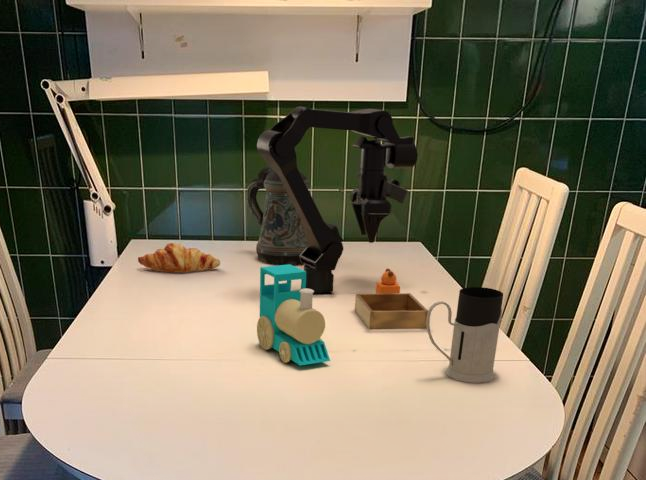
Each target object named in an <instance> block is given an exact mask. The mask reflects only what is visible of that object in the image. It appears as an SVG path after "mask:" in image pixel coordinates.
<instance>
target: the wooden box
mask: <svg viewBox="0 0 646 480" xmlns="http://www.w3.org/2000/svg"><path fill="white" fill-rule="evenodd" d="M354 298H355V300H354V301H355V302H354V311H355V312H356V314H357V315H358V316H359V318H360V319H361V320H362V322H363V323H364V325H365V326H366V327H367V329H368V330H416V329H417V330H418V329H419V330H421V329H423V330H425V329H426V330H427V314H428V310H429V309H427V308H426V307H425V306H424V305H423V304H422V303H421V302H420V301H419V300H418V299H417V298H416V297H415V296H414V295H413V294H411V293H410V292H402V293H401V292H400V293H378V294H376V293H355V297H354Z"/></svg>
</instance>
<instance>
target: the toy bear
mask: <svg viewBox="0 0 646 480" xmlns="http://www.w3.org/2000/svg"><path fill="white" fill-rule="evenodd" d="M380 279H381V280H380V281H376V283H375V284H376V285H375V294H378V293H401V285H399V283H398V282H397V276H396V273H394V271H392V270H391V269H390V268H385V271H384V272H383V273H382V275H381V278H380Z"/></svg>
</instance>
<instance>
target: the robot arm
mask: <svg viewBox="0 0 646 480" xmlns="http://www.w3.org/2000/svg"><path fill="white" fill-rule="evenodd" d="M393 121H394V120H393V116H392V115H391V112H389V111H387V110H384V109H377V108H363V109H357V110H353V111H341V110H340V111H339V110H327V109H319V108H318V109H317V108H310V107H307V106H296V107H294V108H293V109H292V110H291V111H290V112H289V113H288V114H287V115H285V116H284V117H283V118H282V119H280V120H279V121H277V122H276V123H274V125H273V126H272V127H270V129H267V130H265V131H263V132H262V133H261V134H259V137H258V138H257V143H256V148H257V152H258V153H259V155H260V157H261V158H262V159H263V160H264V161H265V163H266V164H267V166H268V167H271V168H272V169H273V170H274V171H275V172H276V173H277V174H278V176H279V177H280V179H281V181H282V183H283V185H284V187H285V189H286V191H287V193H288V195H289V197H290V199H291V201H292V203H293V205H294V207H295V209H296V211H297V213H298V215H299V217H300V219H301V220H302V222H303V224H304V226H305V229H306V240H307V243H308V246H307V247H306V249H305V250H304V251H303V252H302V253H301V254H300V256H299V258H300V261H301V264H304V265H303V270H304V271H306V288H307V289H312V290H314V293H313V296H332V295H333V292H334V280H335V279H334V278H335V275H334V273H333V271H335V270H336V268H337V265H338V262H339V260H340V258H341V257H342V255H343V252H344V244H343V242H344V239H343V238H342V237H341V235H340V232H339V229H338V227H337V226H336V225H334V224H332V223H329V222H327V221H324V219H323V217H322V215H321V213H320V211H319V208H318V206H317V204H316V203H315V200H314V198H313V196H312V194H311V192H310V190H309V188H307V186H306V184H305V182H304V180H303V178H302V176H301V174H300V172H301V171H300V170H299V168H298V167H299V166H298V155H297V152H296V151H297V150H296V147H297V146H298V145H299V144H300V143H301V142H302V140H303V138H304V136H305V134H306V132H307V131H308V130H309V129H310V128H316V129H327V130H339V131H341V130H342V131H350V132H354V133H355V134H360V135H362V136H359V138H358V139H357V140H356V141H355V142H354V143H353V144H352V147H353V148H356V149H361V150H360V151H361V152H360V162H359V163H360V165H359V171H358V172H357V178H358V188H354V189H353V190H351V191H350V196H349V197H350V198H349V201H350V202H351V203H350V204H351V206H352V209H353V213H354V216H355V218H356V219H355V220H356V223H357V225H358V229H359V232H360V234H361V235H362V236H366V237H367V241H368V243H369V244H374V243H375V239H376V237H377V234H378V232H379V231H378V230H379V228H380V225H381V222H382V221H383V220H384V219H385V218H387V217H389V216H390V214H391V213H392V204H391V202H390V201H389V200H388V199H387V198H389V199H391V200H394V201H397V202H398V204H401V205H402V204H404V202H405V199H406V198H407V195H408V193H409V190H408V189H406V188H404V187H403V186H401V182H400V181H399V180H398V179H395V178H391V180H389V181H388V176H387V174H385V172H386V167H387V168H388V169H412V168H414V167H415V166H416V164H417V161H418V158H419V153H418V150H417V146H416V144H415V143H414V142H415V137H414V136H406V135H405V136H401V137H400V136H399V134H398V132H397V129H396V127H395V126H394V123H393ZM367 137H371V138H373V139H367ZM381 142H384V144H382V143H381ZM299 171H300V172H299Z"/></svg>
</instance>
